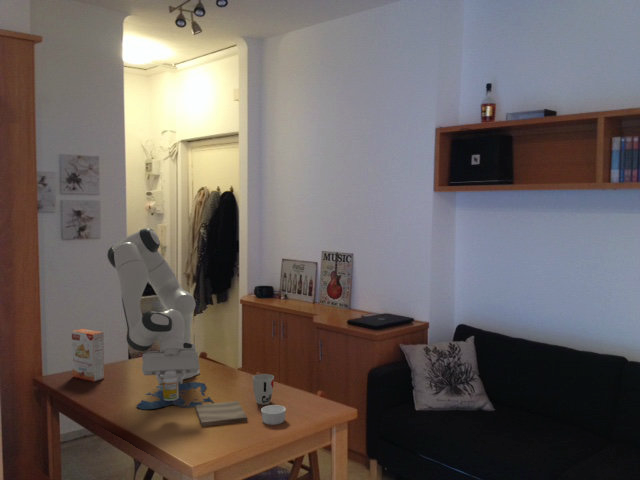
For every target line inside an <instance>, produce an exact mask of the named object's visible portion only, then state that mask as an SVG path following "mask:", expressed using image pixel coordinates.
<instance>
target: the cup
mask: <svg viewBox="0 0 640 480" xmlns="http://www.w3.org/2000/svg"><path fill="white" fill-rule="evenodd" d="M274 379H275V375H273V374H268V373H260V374H256V375H255V374H254V375H253V376H252V383H253V384H252V385H253V386H252V387H253V393H254V398H255V402H256V404H258V405H270V404H271V403H270V402H271V400H272V396H273V392H274V381H275V380H274Z"/></svg>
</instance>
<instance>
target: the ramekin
mask: <svg viewBox="0 0 640 480" xmlns="http://www.w3.org/2000/svg"><path fill="white" fill-rule="evenodd" d="M286 411H287V409H286V406H283V405H279V404H271V405H270V404H268V405H265V406H263V407H262V408H261V409H260V413H261V417H262V418H261V420H262V422H263V423H264V424H266V425H275V426H276V425H280V424H282V423H284V422H285V420H286Z"/></svg>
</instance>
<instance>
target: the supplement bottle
mask: <svg viewBox="0 0 640 480" xmlns="http://www.w3.org/2000/svg"><path fill="white" fill-rule="evenodd" d="M162 379H163V385H162V386H163V399H164V400H166V401H173V400H176V399H178V398H179V395H180V393H179V392H180V391H179V385H178V378H177V377H176V371H173V370H171V371H166V372H165V378H162Z"/></svg>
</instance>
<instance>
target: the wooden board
mask: <svg viewBox="0 0 640 480" xmlns="http://www.w3.org/2000/svg"><path fill="white" fill-rule="evenodd" d="M194 409H195V412H196V415H197V417H198V421H199V423H200V426H201V427H210V426H219V425H227V424H228V425H229V424H236V423H238V424H239V423H247V422H248V415H247V414H246V412H245V411H244V409H243V407H242V405H241V404H240V403H239V401H238V400H235V401H234V400H233V401H224V402H217V403H213V404H212V403H206V404H205V403H204V404H203V405H195V407H194Z"/></svg>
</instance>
